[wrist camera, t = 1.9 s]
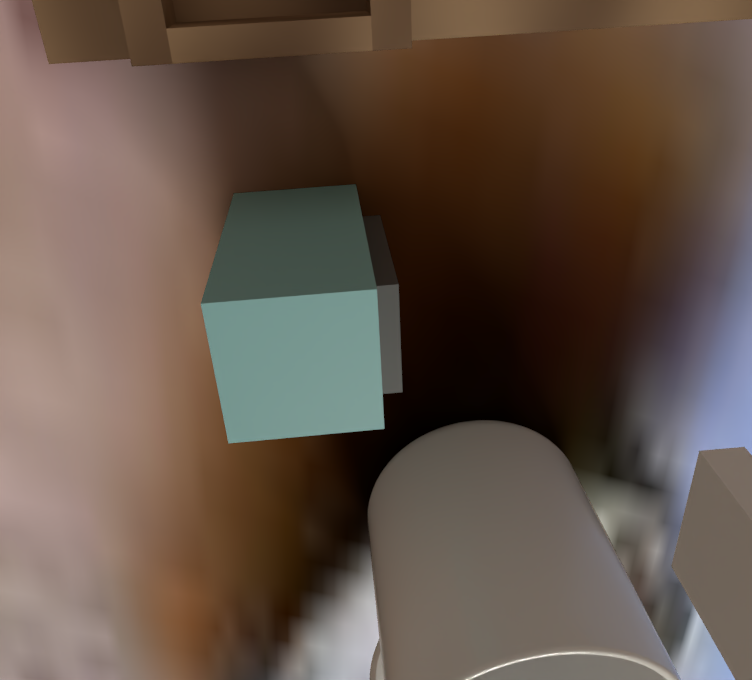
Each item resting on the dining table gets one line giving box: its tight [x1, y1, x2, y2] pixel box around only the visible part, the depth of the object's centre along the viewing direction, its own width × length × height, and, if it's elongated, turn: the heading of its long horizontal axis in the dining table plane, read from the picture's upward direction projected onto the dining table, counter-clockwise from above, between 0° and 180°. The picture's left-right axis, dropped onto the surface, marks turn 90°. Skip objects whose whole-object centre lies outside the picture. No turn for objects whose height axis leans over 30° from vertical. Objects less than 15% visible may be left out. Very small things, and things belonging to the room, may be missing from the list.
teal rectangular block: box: [201, 184, 403, 443], centre depth 20 cm, size 5×4×8 cm
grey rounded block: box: [367, 420, 681, 680], centre depth 25 cm, size 12×9×11 cm
